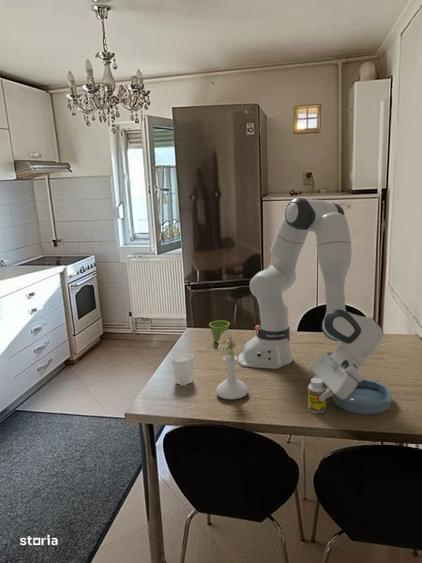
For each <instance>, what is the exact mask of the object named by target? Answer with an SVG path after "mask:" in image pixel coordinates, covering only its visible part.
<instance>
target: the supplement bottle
mask: <svg viewBox="0 0 422 563" xmlns="http://www.w3.org/2000/svg"><path fill="white" fill-rule="evenodd" d="M326 389H327V386H326V385H325V384H324V383H323V380H322V379H321V378H313V377H312V378H311V379H310V383H309V384H308V386H307V391H308V392H307V393H308V394H307V403H308V404H307V405H308V406H307V408H308V410H309V411H310V412H312V413H315V414H322V413H324V412H325V411H326V410H327V409H326V408H327V398H326V399H325V400H324V401H323V402H322V401H321V400H320V399H319V398H318V395H319V394H320V393H324V392H326Z"/></svg>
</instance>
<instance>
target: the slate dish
mask: <svg viewBox="0 0 422 563" xmlns="http://www.w3.org/2000/svg"><path fill="white" fill-rule="evenodd" d="M357 382H358V381H357ZM392 396H393V395H392V392H391V390H390V388H389V387H388V386H387V385H385V384H382V383H381V382H379V381H376V380H371V379H366V378H364V379H363V380H362V381H361V382H358V384H357V386H356V388H355V389H354V390H353V391H352V393H351V394H350V395H349V396H348V397H347V398H345V399H342V400H341V399H340V398H339V397H338V396H336V395H335V394H333V395H332V400H333V403H334V404H335V405H336V406H337V407H338V408H340V409H341V410H344V411H346V412H350V413H354V414H357V415H378V414H382V413H384V412H385V411H386V412H387V411H388V410H389V409H390V408H391V402H392V400H393V399H392Z"/></svg>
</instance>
